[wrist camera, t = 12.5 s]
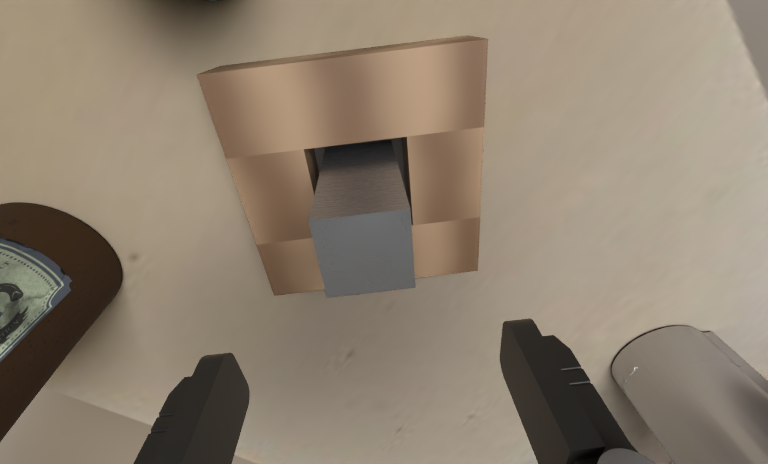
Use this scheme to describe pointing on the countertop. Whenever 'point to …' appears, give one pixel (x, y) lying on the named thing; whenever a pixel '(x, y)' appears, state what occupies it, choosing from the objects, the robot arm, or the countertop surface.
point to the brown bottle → (46, 296)
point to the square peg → (362, 221)
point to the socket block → (353, 125)
